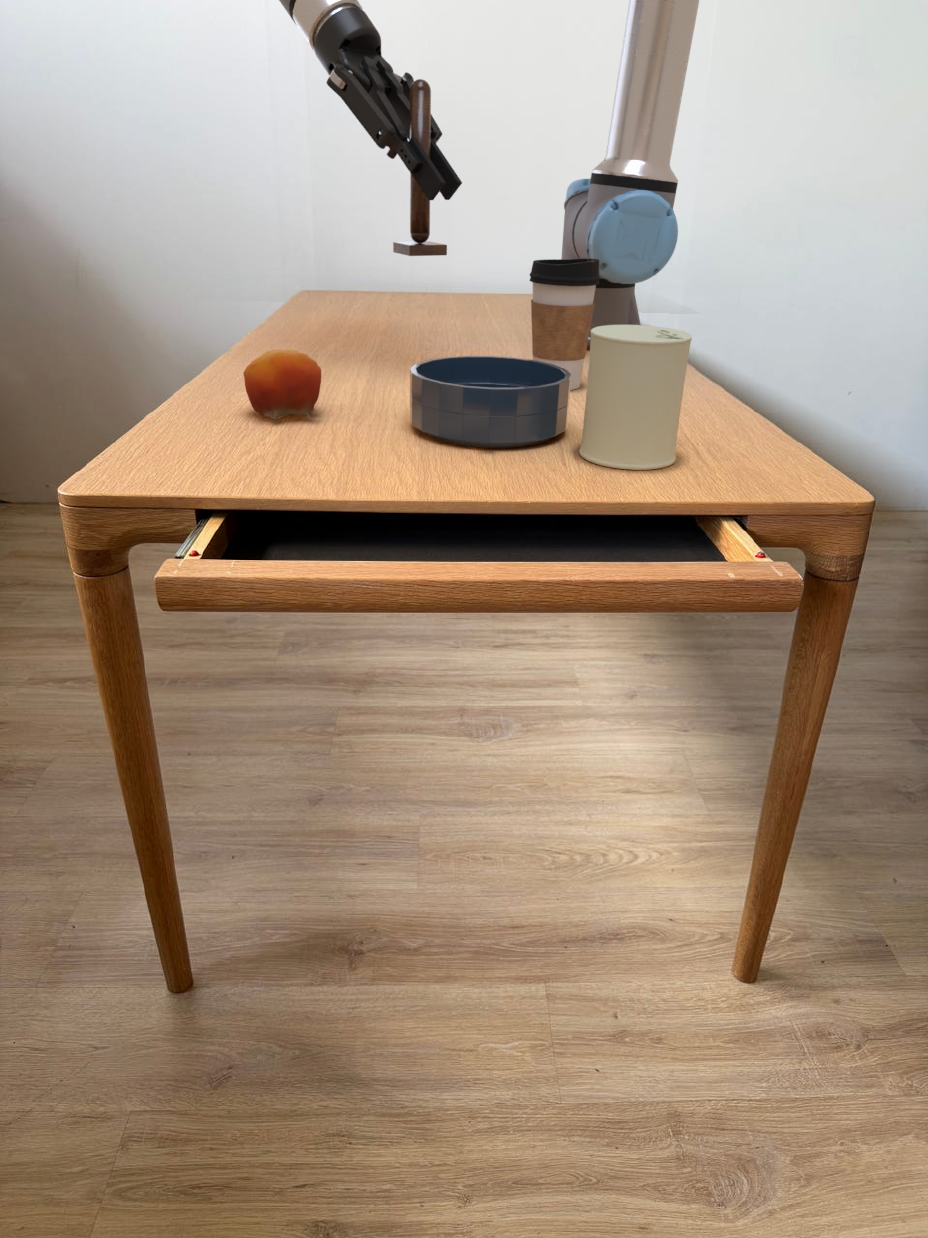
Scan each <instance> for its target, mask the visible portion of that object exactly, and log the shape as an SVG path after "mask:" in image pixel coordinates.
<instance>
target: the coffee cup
mask: <svg viewBox="0 0 928 1238" xmlns="http://www.w3.org/2000/svg"><path fill="white" fill-rule="evenodd" d="M529 277H530V278H529V282H530V283H532V299H531V300H530V309H531V311H530V312H531V315H530V316H531V344H532V345H531V346H532V347H531V348H532V349H531V350H532V360H536V361H540V362H545V363H550V364H553V365H556V366H559V367H561V368H564V369H566V370H567V371H568V372H569V373H571V387H570V391H574V390H578V389H579V388H580V387H581V381H582V376H583V370H584V363H585V358H586V353H587V349H588V348H587V343H588V337H589V332H590V326H591V321H592V315H593V310H594V304H595V303H594V302H593V300H594V294H595V288H596V285H598V284H599V279H600V276H599V260H598V259H592V258H587V259H555V258H554V259H553V258H552V259H550V258H549V259H535V260H532V267H531V270H530V272H529Z"/></svg>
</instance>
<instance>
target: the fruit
mask: <svg viewBox="0 0 928 1238" xmlns="http://www.w3.org/2000/svg"><path fill="white" fill-rule="evenodd" d="M243 379H244V380H243V381H244V387H245V392H246V394H247V395H246V396H247V397H248V400H249V402H250V405H251V407H252V409H253V410H254V411H255V413H257V414H258V415H259V416H261V417H263V418H270V419H273V420H275V421H277V420H278V419H280V418H282V417H288V416H301V417H302V416H303V417H307V418H308V419H310V420H311V421H312V422H314V420H313V418H312V416H311V415H310V413H311V412H313V411H314V409H315V405H316V403H317V401H318V399H319V397H320V390H321V384H322V369H321V367H320V366H319V364H318V362H317V361H316V360H314V358H312V357H310V355H308V354H307V353H305V352H300V351H298V350H296V349H286V348H285V349H281V348H279V349H277V348H276V349H271V350H268V351H266V352H264V353H262V354H261V355H259V357H257V358H255V359H253V360H252V361H251V362H250V363H249V364H247V366H246V367H245V369H244V371H243Z"/></svg>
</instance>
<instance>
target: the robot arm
mask: <svg viewBox="0 0 928 1238" xmlns="http://www.w3.org/2000/svg"><path fill="white" fill-rule="evenodd" d="M278 1H279V3H280V4H281V5H282V7H283V8H284V10H285V11H286V13H287V14H288V16H289V17H290V19H291V20H292V21H293V23H294V24H295V26H296V27H297V28H298V30H299V31H300V33H301V34H302V36H303V38H304V39H305V41H306V42H307V45H308V46H309V47H310V48H311V49H312V51H313V52H314V54H315V56H316V58H317V59H318V61H319V62H320V64H321V65H322V67H323V69H324V70H325V72H326V73H327V74H328V78H327V80H326V84H327V86H328V87H329V88H330V89H331V90H332V91H333V92H334V93H335V94H336V95H337V96H338V97H339V98H340V99H341V100H342V101H343V103H344V104H345V105H346V107H348V109H349V110H350V112H351V113H352V114H353V115H354V117H355V118H356V119H357V121H358V122H359V123H360V125H361V126H362V127H363V128H364V130H365V131H366V132H367V134H368V135H369V137H370V138H371V139H372V140H373V142H374V143H375V144H376V146H377V147H378V148H379V149H382V150H384V149H386V147H387V148H389V149H388V151H387V152H386V156H387V157H388V158H389V159H392V160H394V159H395V158H396V157H397V156H398V157H399V158H400V160H401V161H402V162H403V164H404V166H405V167H406V169H407V170H408V171H409V174H410V173H411V174H412V176H413V177H414V179H415V180H416V182H417V183H418V185H419V186H420V188H421V189H422V191H423V192H424V194H425V195H426V197H427V198H428V200H430V201H434V200H435V198H436V197H437V196H438V194H439V193H440V194H441V196H442V198H443V199H444V200H445V201H450V200H451V198H453V196H454V195H455V193H456V192H457V191H458V189H459V188H460V187H461V186H462V184H463V181H462V180H461V179H460V177H459V176H458V174H457V172H456V171H455V170H454V168H453V167H452V165H451V164H450V162H449V160H448V159H447V158H446V156H445V155H444V153H443V152H442V151H441V149H440V147H439V146H438V144H437V143H438V142H439V140H440V139H441V137H442V136H443V132H442V130H441V128H440V127H439V125H438V124H437V121H436V120H435V118H434V117H433V114H431V137H430V158H429V157H428V155H427V154H426V152H425V151H424V149H423V148H422V146H421V145H420V143H419V142H418V140H417V139H416V138H413V137H411V139H410V87H411V85H412V83H413V82H414V81H415V80H414V77H413V75H412V74H411V73H409V72H405V73H404V74H403V75H402V76H400V75H399V74H397V73H395V72H394V69H393V67H392V65H391V64H390V63H389V61H387V60H386V59H385V57H383V56H382V37H381V35H380V33H379V30H378V29H377V28H376V26H375V25H374V23H373V22H372V20H371V19H370V18H369V16H368V15H367V13H366V12H365V11H364V10H363V6H362V5H361V3H360V2H359V1H358V0H278ZM699 5H700V0H629V1H628V7H627V8H628V9H627V15H626V21H625V27H624V34H623V39H622V48H621V52H620V61H619V67H618V71H617V72H618V73H617V79H616V84H615V85H616V86H615V92H614V100H613V104H612V105H613V106H612V112H611V113H612V114H611V117H610V124H609V125H610V126H609V130H608V131H609V132H608V138H607V145H606V151H605V157H604V158H603V160H602V161H601V162H600V163H598V164H597V165H596V166H595V167H594V168H593V169H592V170H591V174H590V178H579V179H576V180H574V181H572V182H571V183H570V184H569V185H568V187H567V188H566V194H565V200H564V203H563V210H564V216H563V217H564V218H563V232H562V245H561V247H562V248H561V259H587V258H592V259H598V260H599V276H600V279H599V284H598V285H596V288H595V294H594V300H593V302H594V303H595V304H594V310H593V315H592V321H591V326H590V332H589V337H588V343H587V348H586V349H590V344H591V330H592V329H593V328H595V327H599V326H606V325H642V324H641V318H640V314H639V310H638V309H639V308H638V304H637V299H636V290H635V289H636V284H639V283H643V282H645V281H647V280H650V279H652V278H653V277H655V276H656V275H657V274H658V273H660V272H661V271H662V270H663V269H664V268H665V267H666V266H667V264H668V263H669V261H670V260H671V258H672V256H673V254H674V252H675V250H676V246H677V243H678V237H679V225H678V220H677V216H676V214H675V211H674V205H675V200H676V195H677V189H678V185H679V179H678V177H677V176H676V175H675V172H673V170H672V167H671V164H670V163H671V159H672V154H673V148H674V143H675V142H674V141H675V138H676V137H675V136H676V131H677V125H678V120H679V115H680V109H681V104H682V99H683V93H684V89H685V88H684V86H685V82H686V78H687V77H686V76H687V71H688V66H689V65H688V64H689V60H690V55H691V48H692V44H693V38H694V31H695V26H696V20H697V15H698V10H699Z"/></svg>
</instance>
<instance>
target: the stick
mask: <svg viewBox="0 0 928 1238" xmlns="http://www.w3.org/2000/svg"><path fill="white" fill-rule="evenodd" d="M431 110H432V90H431V85H430V84H429V83H428V81H426V80H425V79H422V78H418V79H416V80H414V82H413V83H412V85H411V87H410V139H411V137H413V138H416V139H417V140H418V142H419V143H420V145H421V146H422V148H423V149H424V151H425V152H426V154H427V155H428V157H429V158H430V137H431V115H432V111H431ZM409 235H410V238H411V240H412V241H393V242H392V249H393V251H392V252H393V253H394V254H400V255H404V256H408V257H420V256H421V257H427V256H430V257H433V256H435V257H436V256H447V255H448V244H444V243H439V242H435V241H434V242H433V241H428V240H429V238H430V235H431V200H428V198H427V197H426V195H425V194H424V192H423V191H422V189H421V188H420V186H419V185H418V183H417V182H416V180H415V179H414V177H413V176H412V174H411V173H410V172H409Z"/></svg>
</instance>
